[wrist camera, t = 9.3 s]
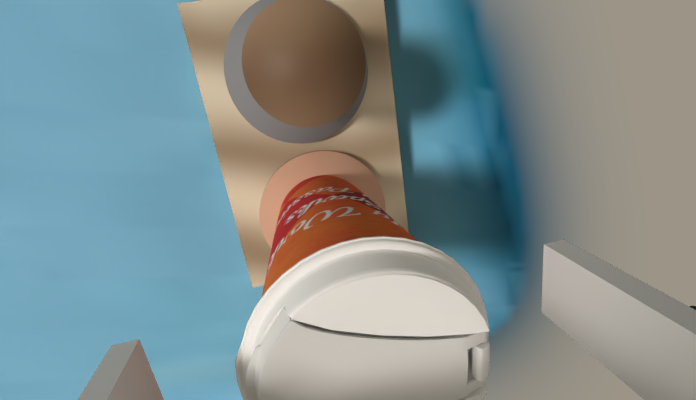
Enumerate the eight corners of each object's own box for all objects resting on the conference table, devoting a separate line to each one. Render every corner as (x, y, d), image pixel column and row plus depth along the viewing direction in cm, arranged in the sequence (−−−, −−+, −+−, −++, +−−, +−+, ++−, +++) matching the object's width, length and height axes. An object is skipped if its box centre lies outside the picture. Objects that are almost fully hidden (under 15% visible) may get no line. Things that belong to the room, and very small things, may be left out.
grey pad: (207, 4, 19) (206, 1, 19) (355, -15, 20) (357, -18, 20) (244, 153, 22) (243, 154, 21) (374, 130, 23) (376, 130, 22)
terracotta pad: (246, 163, 22) (245, 164, 21) (375, 139, 23) (377, 140, 22) (274, 279, 24) (274, 283, 24) (389, 254, 25) (392, 257, 25)
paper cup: (379, 150, 23) (519, 236, 9) (385, 262, 25) (504, 458, 12) (250, 165, 21) (201, 285, 8) (268, 281, 24) (254, 520, 10)
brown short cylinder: (242, 29, 19) (227, 4, 14) (335, 16, 20) (356, -12, 14) (263, 124, 21) (257, 136, 15) (348, 109, 22) (373, 116, 16)
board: (183, 8, 20) (177, 3, 19) (376, -17, 21) (381, -22, 20) (253, 278, 25) (252, 287, 24) (405, 245, 27) (410, 252, 26)
